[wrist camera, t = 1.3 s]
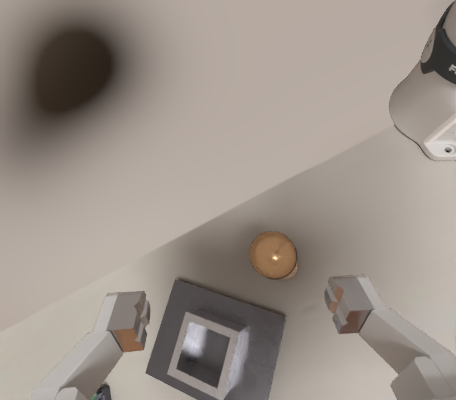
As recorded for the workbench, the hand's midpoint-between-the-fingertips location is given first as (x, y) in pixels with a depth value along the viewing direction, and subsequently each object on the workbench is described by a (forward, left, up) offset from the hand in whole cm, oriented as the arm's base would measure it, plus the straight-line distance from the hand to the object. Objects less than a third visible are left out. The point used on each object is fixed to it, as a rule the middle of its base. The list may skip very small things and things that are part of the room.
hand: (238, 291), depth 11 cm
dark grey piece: (+8, +11, -29) cm, 32 cm away
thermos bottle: (+1, -3, -29) cm, 30 cm away
